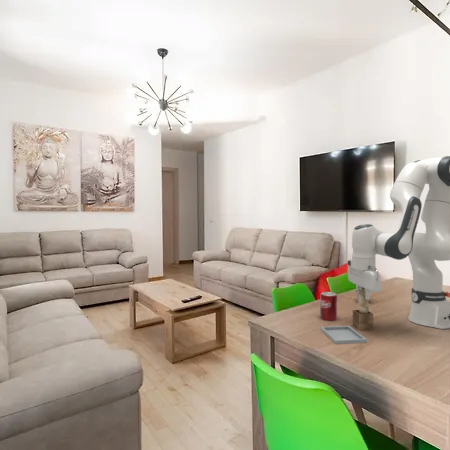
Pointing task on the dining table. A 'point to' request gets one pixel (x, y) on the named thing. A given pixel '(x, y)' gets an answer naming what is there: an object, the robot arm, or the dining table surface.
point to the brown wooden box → (362, 321)
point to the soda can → (328, 306)
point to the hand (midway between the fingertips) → (363, 297)
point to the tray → (343, 335)
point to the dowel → (363, 303)
